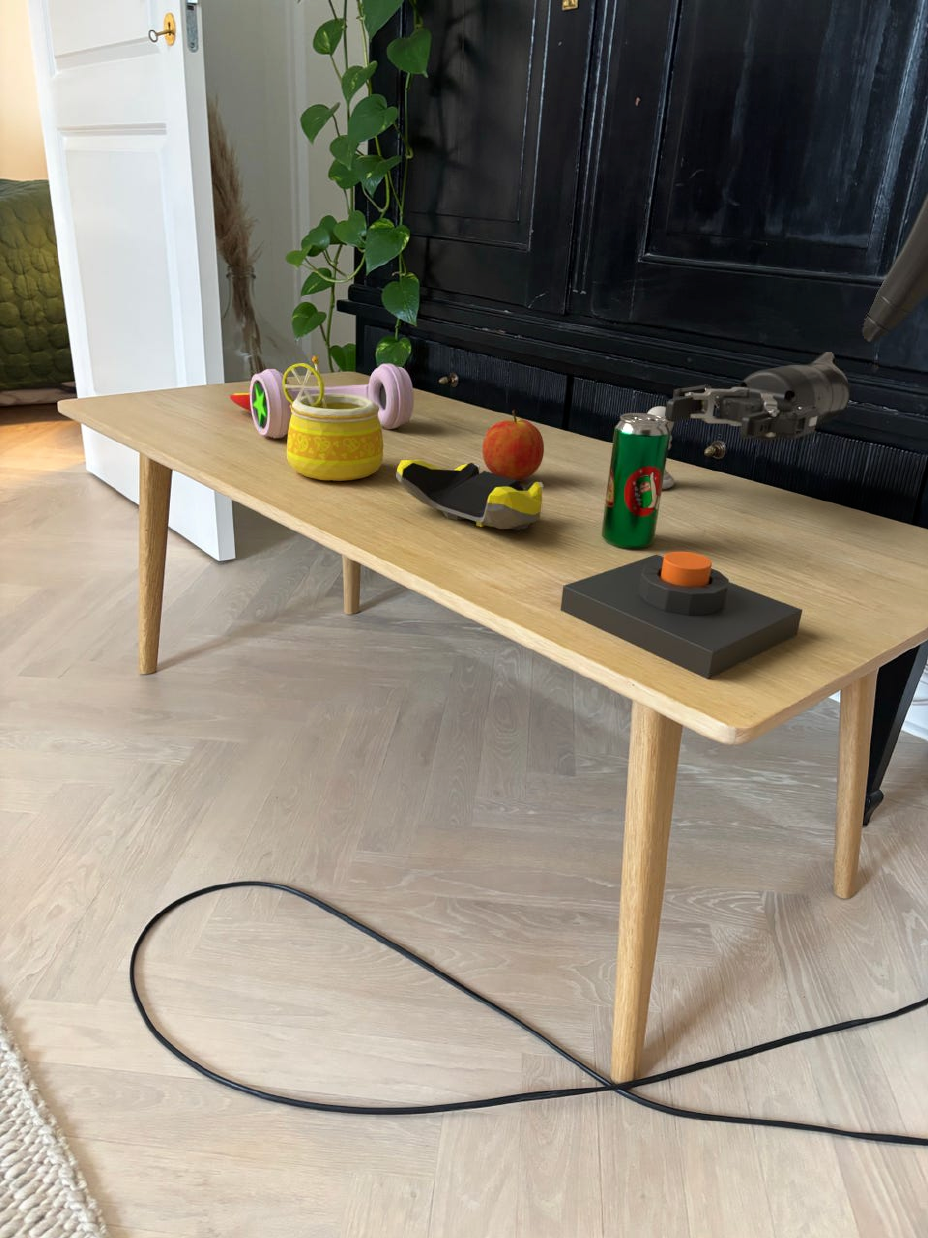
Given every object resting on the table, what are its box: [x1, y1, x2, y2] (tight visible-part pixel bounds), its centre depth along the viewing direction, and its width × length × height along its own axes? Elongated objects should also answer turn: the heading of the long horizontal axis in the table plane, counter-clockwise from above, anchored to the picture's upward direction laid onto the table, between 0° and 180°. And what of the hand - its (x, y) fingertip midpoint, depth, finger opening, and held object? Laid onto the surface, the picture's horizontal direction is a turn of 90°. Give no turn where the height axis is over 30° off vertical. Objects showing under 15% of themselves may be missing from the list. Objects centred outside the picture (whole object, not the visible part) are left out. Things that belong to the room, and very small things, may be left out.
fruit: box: [482, 409, 545, 482], centre depth 103 cm, size 7×7×8 cm
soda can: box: [601, 412, 671, 550], centre depth 85 cm, size 5×5×12 cm
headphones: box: [229, 363, 415, 439], centre depth 122 cm, size 20×10×20 cm
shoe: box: [395, 459, 544, 531], centre depth 90 cm, size 15×6×10 cm
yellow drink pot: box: [282, 355, 384, 482], centre depth 102 cm, size 13×11×12 cm
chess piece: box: [646, 405, 675, 490], centre depth 104 cm, size 5×5×9 cm
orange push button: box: [661, 550, 713, 587], centre depth 70 cm, size 4×4×2 cm
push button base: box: [560, 554, 803, 680], centre depth 71 cm, size 14×12×4 cm
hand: (705, 419), depth 90 cm, fingers open, 8 cm apart
